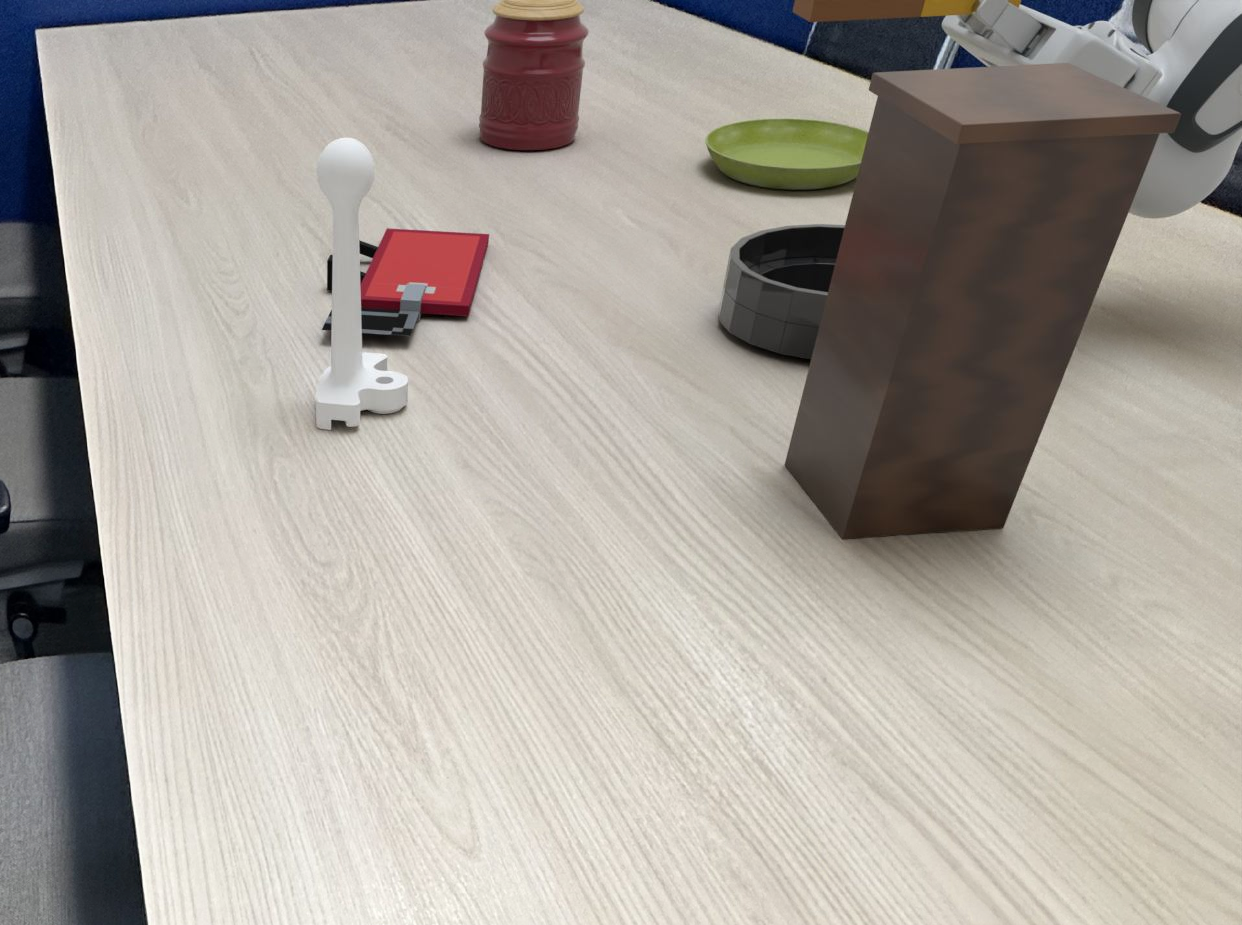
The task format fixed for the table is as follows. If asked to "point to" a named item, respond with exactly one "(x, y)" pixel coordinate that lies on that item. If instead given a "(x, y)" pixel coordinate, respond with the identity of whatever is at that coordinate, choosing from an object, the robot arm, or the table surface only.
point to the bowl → (780, 286)
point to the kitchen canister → (532, 74)
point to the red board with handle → (416, 278)
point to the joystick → (351, 299)
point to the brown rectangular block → (880, 9)
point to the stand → (963, 289)
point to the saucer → (788, 152)
